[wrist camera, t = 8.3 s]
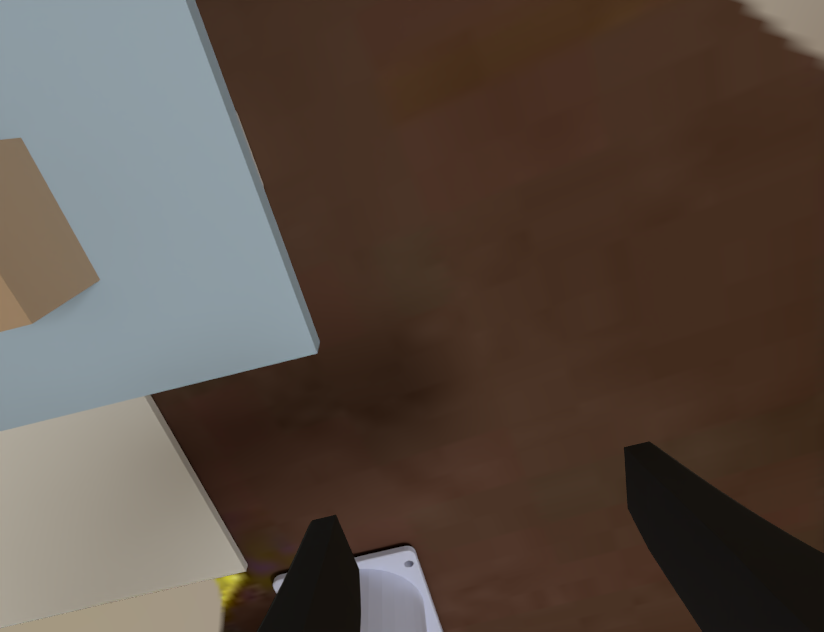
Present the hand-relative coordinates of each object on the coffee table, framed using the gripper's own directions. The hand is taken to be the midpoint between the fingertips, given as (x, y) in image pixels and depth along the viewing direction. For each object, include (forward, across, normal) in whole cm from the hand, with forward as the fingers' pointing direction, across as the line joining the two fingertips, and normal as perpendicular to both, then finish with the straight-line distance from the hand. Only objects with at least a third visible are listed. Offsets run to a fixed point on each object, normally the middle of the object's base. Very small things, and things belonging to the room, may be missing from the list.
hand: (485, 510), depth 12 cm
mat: (+10, +20, +4) cm, 23 cm away
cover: (+6, +10, -9) cm, 15 cm away
